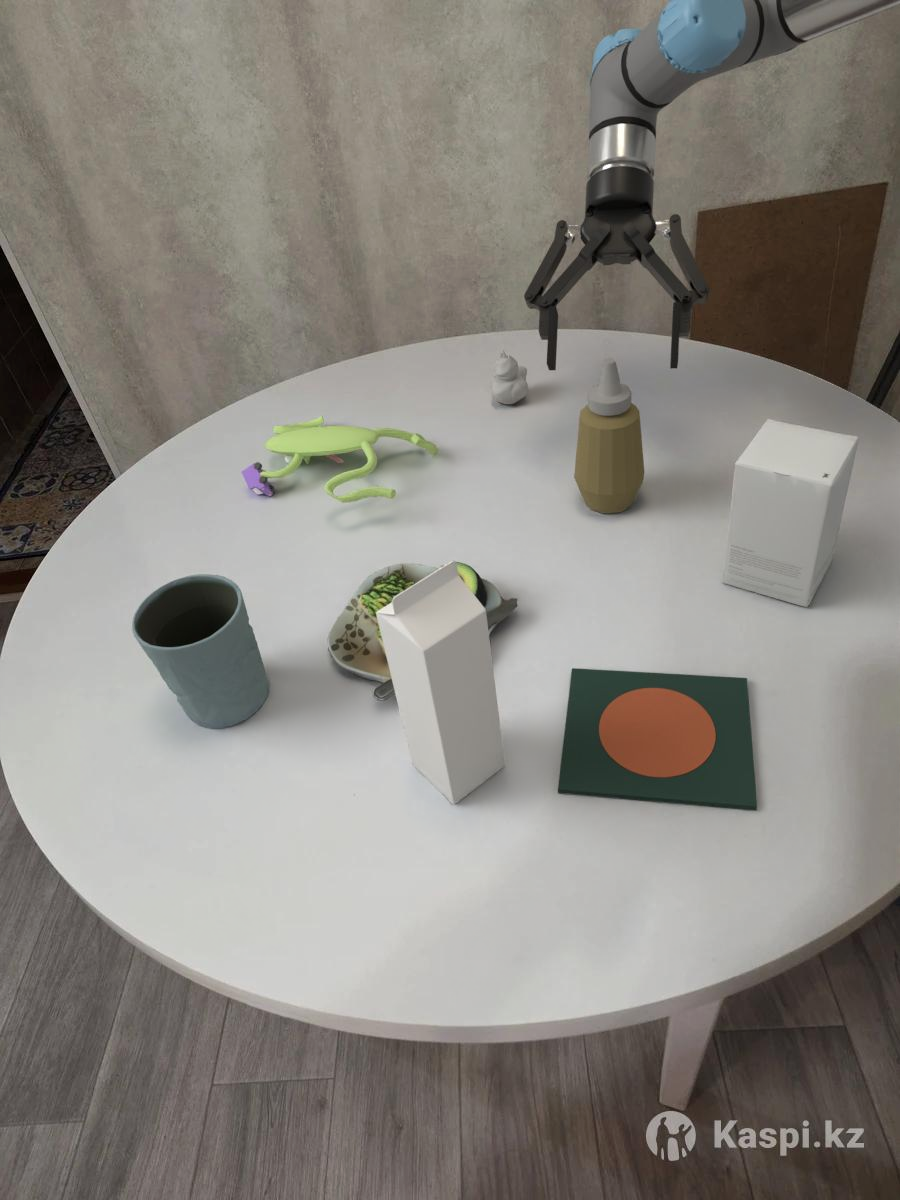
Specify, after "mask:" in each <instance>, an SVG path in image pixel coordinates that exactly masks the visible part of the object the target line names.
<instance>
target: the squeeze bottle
mask: <svg viewBox="0 0 900 1200" xmlns="http://www.w3.org/2000/svg"><path fill="white" fill-rule="evenodd" d="M599 377H600V378H599V382H598V383H597V384H595V385H593V386H592V387H591V388H590V389H589V390H588V392H587V403H586V405H585V406H584V407H583V408H582V409H581V410H580V413H579V419H578V421H579V422H578V431H577V440H576V441H577V443H576V453H575V463H574V473H573V474H574V475H573V478H574V480H575V483H576V485H577V487H578V490H579V492H580V495H581V496H582V499H583V501H584V503H585V505H586V507H587V508H589V509H590V510H591V511H594V512H597V513H600V514H616V513H617V514H618V513H621V512H623V511H625V510H628V509H629V508H630V507H631V506H632V505H633V504H634V502H635V500H636V498H637V495H638V493H639V491H640V489H641V487H642V484H643V482H644V480H645V461H644V448H643V437H642V425H641V414H640V413H641V412H640V409H638V407H637V406H636V404H634V403H632V390H631V388H630V387H629V386H627V385H626V384H624V383H621V379H620V375H619V370H618V367H617V362H616V359H615V358H611V357H609V358H606V359H604V360H603V364H602V368H601V373H600V376H599Z"/></svg>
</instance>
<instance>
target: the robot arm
mask: <svg viewBox="0 0 900 1200" xmlns="http://www.w3.org/2000/svg"><path fill="white" fill-rule="evenodd" d="M898 6H900V0H670V1H668V3H667V4H666V6H665V7H664V8H663V9H662V10H661V11H660V12H659V13H658V14H657V15H656V16H655V17H654V18H653V19H652V20H650V22H649V23H648V24H647V25H646V26H645V27H644V28H643V29H640V28H622V29H619V30H618V31H617V32H616V33H615V34H608V35H606V36H605V37H603V38H602V39H601V41H599V43H598V44H597V46H596V48H595V50H594V53H593V60H592V68H591V69H592V70H591V73H590V74H591V75H590V76H591V77H589V117H588V119H589V120H588V143H587V160H586V161H587V162H586V166H587V167H586V179H587V182H586V188H585V205H584V206H585V208H584V209H585V210H584V218H583V221H582V223H581V225H579V224H568V223H567V221H566V220H564V219H560V220H559V221H558V222H557V223H556V225H555V231H554V237H553V240H552V243H551V244H550V245H549V248H548V250H547V251H546V253H545V256H544V257H543V259H542V261H541V263H540V265H539V267H538V268H537V270H536V272H535V274H534V276H533V277H532V280H531V281H530V283H529V285H528V286H527V289H526V291H525V293H524V295H523V297H524V301H525V304H526V306H527V308H528V309H530V310H536V311H538V312H539V317H538V319H539V320H538V334H539V337H540V340H541V341H547V347H546V365H547V369H548V371H556V370H557V348H558V330H559V329H558V327H559V312H558V308H557V306H558V305H559V304H560V302H562V300H563V299H564V298H565V297H566V296H567V295H568V294H569V292H570V291H572V289H573V288H574V287H575V285H577V283H578V282H579V281H580V280H581V279H582V277H584V275H585V274H587V272H589V271H590V270H592V269H593V267H594V266H595V265H596V264H597V263H600V264H602V266H612V265H616V264H620V265H632V264H631V263H633V262H635V261H636V260H637V262H638V263H639V264H640V265H641V267H643V269H646V270H647V271H648V272H649V274H651V276H652V277H653V279H655V280H656V282H657V283H658V284H659V285H660V286H661V288H662V289H663V290H664V291H665V292H666V293H667V294H668V296H669V297H670V298H671V299H672V300H673V301H674V302H673V303H672V318H671V319H672V320H671V339H670V340H671V341H670V343H671V344H670V363H669V365H670V367H669V368H670V369H678V365H679V347H680V338H682V337H683V338H685V337H686V338H687V337H689V334H690V331H691V323H692V322H691V321H692V320H691V319H692V308H693V307H695V306H696V305H699V304H702V305H703V304H705V303H706V302H707V301H708V297H709V293H710V288H709V285H708V283H707V281H706V279H705V277H704V275H703V272H702V271H701V269H700V267H699V265H698V263H697V261H696V259H695V256H694V255H693V253H692V251H691V249H690V247H689V245H688V243H687V241H686V239H685V237H684V235H683V231H682V230H683V229H682V218H681V216H680V215H679V214H678V213H674V214H672V215H670V216H669V219H664V220H658V221H656V220H655V218H654V214H653V213H654V211H653V210H654V191H655V189H654V188H655V183H654V182H655V181H654V179H653V177H654V176H655V163H656V146H657V145H656V143H657V121H658V120H657V119H658V115H659V112H660V111H662V110H663V109H664V108H666V107H667V106H669V105H670V104H671V103H672V102H674V101H675V100H676V99H677V98H678V97H680V95H682V94H683V93H684V92H685V91H687V90H688V89H690V88H691V87H692V86H694V85H695V84H697V83H699V82H701V81H703V80H706V79H709V78H712V77H715V76H718V75H721V74H724V73H726V72H730V71H732V70H735V69H738V68H741V67H743V66H745V65H748V64H753V63H755V62H757V61H760V60H764V59H767V58H769V57H774V56H779V55H782V54H784V53H786V52H790V51H792V50H794V49H795V48H797V47H799V46H800V45H802V44H805V43H807V42H809V41H812V40H814V39H817V38H819V37H821V36H822V37H823V36H824V35H827V34H829V33H832V32H835V31H837V30H840V29H842V28H845V27H847V26H850V25H852V24H855V23H857V22H860V21H862V20H865V19H869V18H870V17H873V16H875V15H878V14H881V13H883V12H886V11H888V10H890V9H894V8H896V7H898ZM656 235H660V236H661V237H662V240H663V242H668V243H669V246H670V249H671V251H672V253H673V255H674V258H675V260H676V261H677V264H678V266H679V268H680V270H681V272H682V274H683V276H684V278H685V280H686V282H687V284H688V286H689V288H690V290H689V289H688V287H686V286H685V284H684V283H683V281H681V280H680V279H679V278H678V276H677V275H676V274H675V273H674V272H673V271H672V270H671V268H670V267H669V266H668V265H667V264H666V263H665V261H664V260H663V259H662V258H661V257H660V256H659V255H658V254H657V252H656V250H655V248H654V247H653V246H652V245H651V244H650V243H651V242H652V241H653V239H654V238H655V236H656ZM579 238H580V240H581V242H582V243H583V244H584V246H583V247H582V248H581V249H580V251H579V252H578V254H577V256H576V257H575V258H574V259H573V261H572V262H571V263H570V264H569V266H567V267H566V269H564V271H563V272H562V273H561V274H560V275H559V277H558V278H557V279H556V280H555V281H554V282H553V284H552V285H551V286H550V287H549V288H548V286H549V284H550V282H551V280H552V279H553V276H554V274H555V273H556V271H557V269H558V268H559V265H560V263H561V262H562V260H563V259H564V256H565V254H566V251H567V249H568V248H567V247H570V246H572V245H573V244H574V242H575V240H576V239H579ZM547 288H548V289H547ZM546 289H547V290H546ZM545 291H546V292H545Z"/></svg>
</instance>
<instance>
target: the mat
mask: <svg viewBox="0 0 900 1200" xmlns="http://www.w3.org/2000/svg"><path fill="white" fill-rule="evenodd" d="M570 674H571V675H570V682H569V691H568V700H567V708H566V717H565V724H564V726H565V727H564V734H563V742H562V749H561V750H562V751H561V759H560V766H559V767H560V768H559V776H558V777H559V779H558V785H557V793H558V794H563V795H566V794H567V795H575V796H577V795H578V796H589V797H598V798H609V799H610V798H611V799H623V800H633V801H646V802H655V803H656V802H658V803H666V804H668V803H669V804H678V805H679V804H681V805H690V806H701V807H702V806H703V807H715V808H726V809H735V810H737V809H738V810H747V811H757V809H758V800H757V799H758V797H757V788H756V787H757V786H756V775H755V763H754V762H755V760H754V750H753V749H754V748H753V738H752V725H751V724H752V723H751V712H750V702H749V701H750V698H749V688H748V678H747V677H737V676H735V677H734V676H720V675H719V676H718V675H701V674H684V673H683V674H682V673H665V672H646V671H630V670H628V671H627V670H614V669H613V670H612V669H593V668H592V669H591V668H590V669H589V668H575V667H573V668H571V673H570Z"/></svg>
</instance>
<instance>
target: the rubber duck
mask: <svg viewBox="0 0 900 1200" xmlns="http://www.w3.org/2000/svg"><path fill="white" fill-rule="evenodd" d="M527 374H528V368H527V367H525V366H523V365H519V363H518V361H517V360H516V359H515V358H514V357H513V356H512V355H510V354H509V355H507V354H506V352H505V350H504V349H502V352H500V354H499V357H498V358H497V360H496V362H495V365H494V376H492V378H491V381H490V392H491V397H492V399H493V400H495V401H496V402H498V403H501V404H504V405H512V404H515V403H517V402H518V401H520V400H522V399H523V398H524V397H525V396H527V394H528V392H529V385H528V381H527Z"/></svg>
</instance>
